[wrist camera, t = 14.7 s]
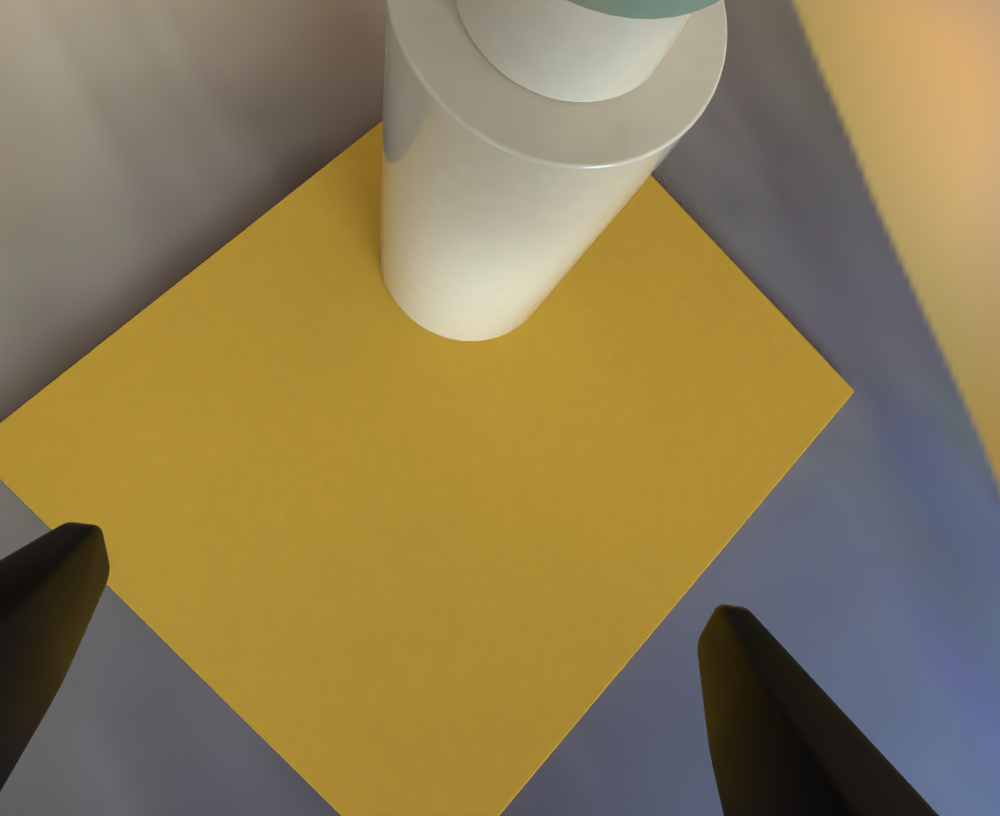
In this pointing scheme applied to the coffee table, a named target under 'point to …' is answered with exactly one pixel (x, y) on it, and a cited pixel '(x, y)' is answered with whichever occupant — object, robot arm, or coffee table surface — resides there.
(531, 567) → the cloth
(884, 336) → the coffee table surface
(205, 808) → the coffee table surface
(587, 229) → the bottle
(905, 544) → the coffee table surface
